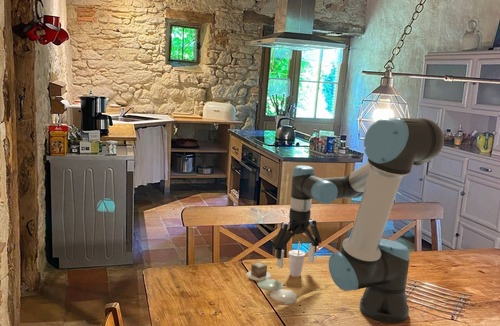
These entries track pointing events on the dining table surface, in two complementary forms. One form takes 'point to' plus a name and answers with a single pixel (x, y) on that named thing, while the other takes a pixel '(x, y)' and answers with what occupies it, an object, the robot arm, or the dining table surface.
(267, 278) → the saucer far
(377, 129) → the robot arm
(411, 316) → the dining table surface
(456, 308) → the dining table surface
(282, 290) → the saucer near
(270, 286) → the saucer mid
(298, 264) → the smoothie
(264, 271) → the letter cube
